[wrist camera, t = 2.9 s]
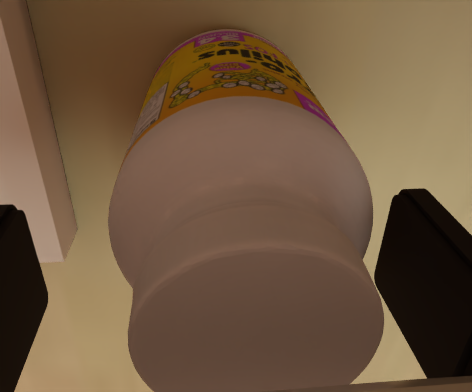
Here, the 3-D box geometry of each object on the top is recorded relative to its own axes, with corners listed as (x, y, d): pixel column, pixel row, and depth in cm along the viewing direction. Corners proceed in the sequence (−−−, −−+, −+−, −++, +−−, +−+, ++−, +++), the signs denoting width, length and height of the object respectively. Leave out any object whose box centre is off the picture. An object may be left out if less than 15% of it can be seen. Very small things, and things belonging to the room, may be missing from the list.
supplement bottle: (330, 76, 18) (526, 289, 7) (250, 191, 21) (304, 470, 10) (192, -10, 16) (174, 110, 5) (123, 132, 19) (18, 404, 8)
